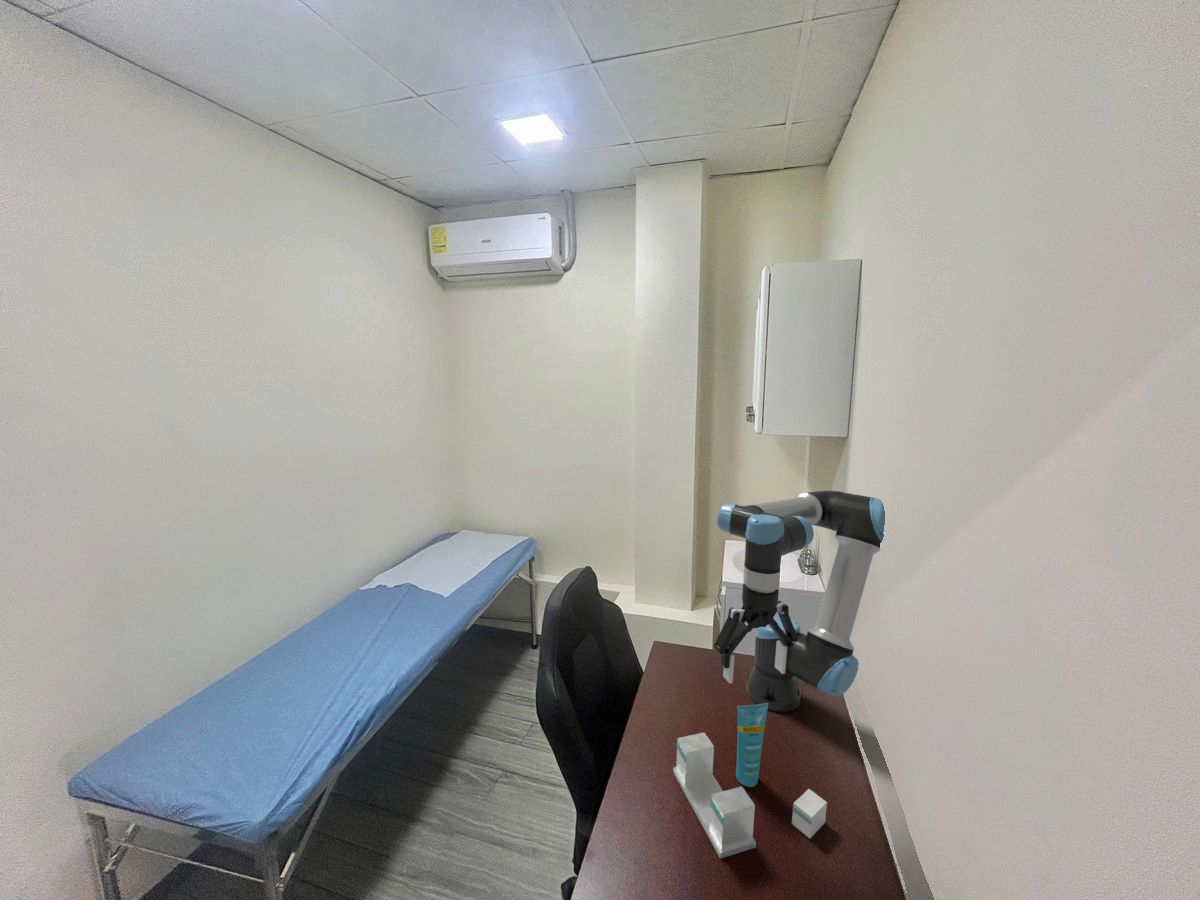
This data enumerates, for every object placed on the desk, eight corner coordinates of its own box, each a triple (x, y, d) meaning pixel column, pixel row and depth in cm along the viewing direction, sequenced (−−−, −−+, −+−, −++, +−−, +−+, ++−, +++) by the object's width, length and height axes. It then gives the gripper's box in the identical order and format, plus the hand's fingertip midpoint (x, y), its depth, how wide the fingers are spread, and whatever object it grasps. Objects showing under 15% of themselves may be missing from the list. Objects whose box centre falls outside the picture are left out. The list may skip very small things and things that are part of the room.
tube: (738, 790, 105) (743, 713, 102) (727, 772, 109) (732, 699, 107) (767, 784, 106) (773, 708, 104) (755, 767, 111) (761, 694, 108)
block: (806, 808, 100) (808, 788, 100) (824, 823, 97) (827, 802, 97) (791, 824, 97) (793, 803, 96) (809, 839, 94) (811, 818, 93)
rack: (703, 764, 112) (705, 730, 110) (755, 847, 92) (758, 806, 90) (673, 771, 109) (674, 737, 108) (720, 858, 89) (722, 817, 88)
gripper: (796, 573, 108) (789, 657, 111) (701, 584, 101) (696, 673, 104) (819, 587, 101) (811, 676, 104) (719, 599, 94) (713, 694, 97)
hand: (754, 674), depth 104 cm, fingers open, 13 cm apart
